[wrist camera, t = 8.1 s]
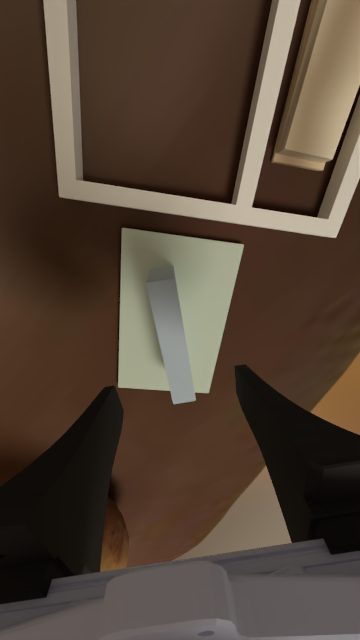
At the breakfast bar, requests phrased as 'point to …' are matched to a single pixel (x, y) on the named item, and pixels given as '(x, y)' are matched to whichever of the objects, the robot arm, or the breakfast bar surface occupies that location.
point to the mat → (194, 296)
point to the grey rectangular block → (171, 332)
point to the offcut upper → (324, 83)
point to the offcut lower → (278, 157)
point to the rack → (352, 162)
